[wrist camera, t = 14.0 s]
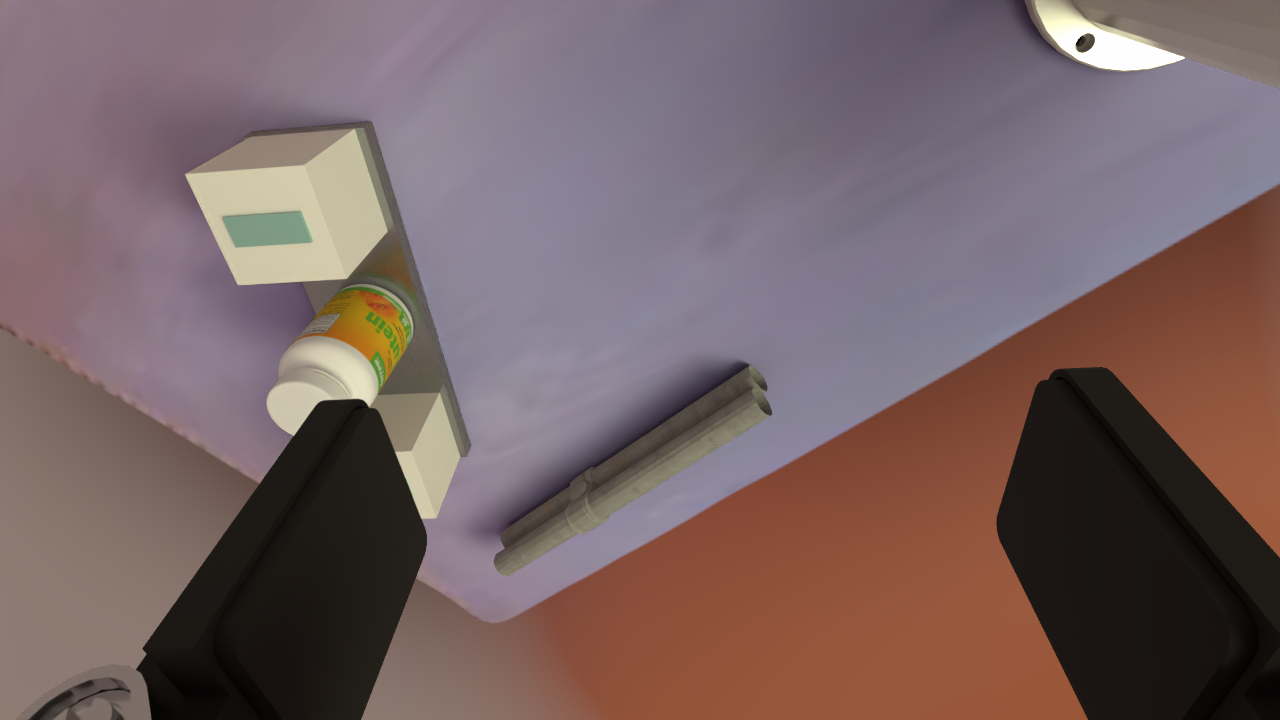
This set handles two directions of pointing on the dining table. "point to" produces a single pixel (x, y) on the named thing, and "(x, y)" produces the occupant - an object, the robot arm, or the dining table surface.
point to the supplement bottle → (341, 354)
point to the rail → (393, 288)
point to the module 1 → (291, 206)
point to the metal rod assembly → (637, 469)
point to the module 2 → (421, 445)
